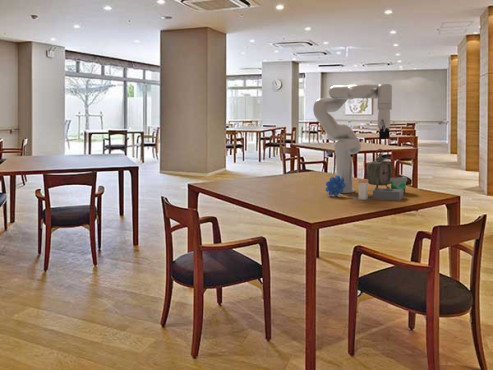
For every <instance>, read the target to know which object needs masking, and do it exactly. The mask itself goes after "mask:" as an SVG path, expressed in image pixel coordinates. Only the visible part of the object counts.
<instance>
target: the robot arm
mask: <svg viewBox="0 0 493 370" xmlns="http://www.w3.org/2000/svg"><path fill="white" fill-rule="evenodd" d="M328 96H329V97H322V98H318V99H317V100H316V101H314V103H313V108H312V109H313V115H314V117H315V118H316V121H318V123H319V124H320V126H321V127H322V129H323V130H324V132H325V133H326V135H327V136H328V138H329V139H330V140H331V141H336V142H335V143H334V154H335V155H334V156H335V163H336V164H335V166H336V167H335V168H336V169H335V170H336V171H335V173H336V176H339V177H340V178H344V182H343V183H345V184H346V186H345V188H343V192H342V193H341V194H350V193H351V194H352V193H355V192H356V189H354V188H353V181H354V180H353V159H352V156H351V155H355V154H357V153H359V152H360V151H361V148H362V144H361V141H360V140H359V138H358V136H357V135H356V133H355V132H354V130H353V129H352V128H351V127H350V126H349V125H347V124H339V123H338V122H337V121H336V120H335V118H334V116H332V115H331V114H330V113H333V112H334V113H336V112H337V111H339V110H340V109H341V108H342V107H343V105H345V103H346V102H347V101H348V100H355V99H377V105H376V106H377V111H378V113H377V128H378V129H379V130H378V136H379V137H378V138H379V140H385V139H390V138H391V137H390V132H391V131H390V127H391V110H393V103H392V102H393V87H392V84H390V83H382V84H381V83H380V84H353V83H348V84H347V83H346V84H334V85H332V86H331V87H330V88H329V90H328ZM336 176H335V177H336Z"/></svg>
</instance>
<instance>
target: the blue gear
mask: <svg viewBox="0 0 493 370" xmlns="http://www.w3.org/2000/svg"><path fill="white" fill-rule="evenodd" d="M343 182H344V178H340V177H339V176H331V177H330V178H329V180H327V181H326V182H325V186H326V187H325V191H326V193H327V194H328V195H329V196H331V197H332V196H334V197H337V196H338V195H339V194H343V193H342V192H343V188H345V186H346V184H345V183H343Z"/></svg>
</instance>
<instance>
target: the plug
mask: <svg viewBox="0 0 493 370" xmlns="http://www.w3.org/2000/svg"><path fill="white" fill-rule="evenodd" d="M357 183H358V197H359V199H363V200H366V199H368V198H369V196H368V195H369V192H368V191H369V186H368V185H369V183H368V179H367V178H359V179H358V180H357Z"/></svg>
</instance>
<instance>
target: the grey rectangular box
mask: <svg viewBox="0 0 493 370" xmlns="http://www.w3.org/2000/svg"><path fill="white" fill-rule="evenodd" d="M372 198H373V199H372V200H379V201H398V202H399V201H401V200H402V199H404V194H403V189H391V188H390V189H387V188H381V187H380V188H379V187H378V188H377V189H375V188H374V189H373V190H372Z"/></svg>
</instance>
